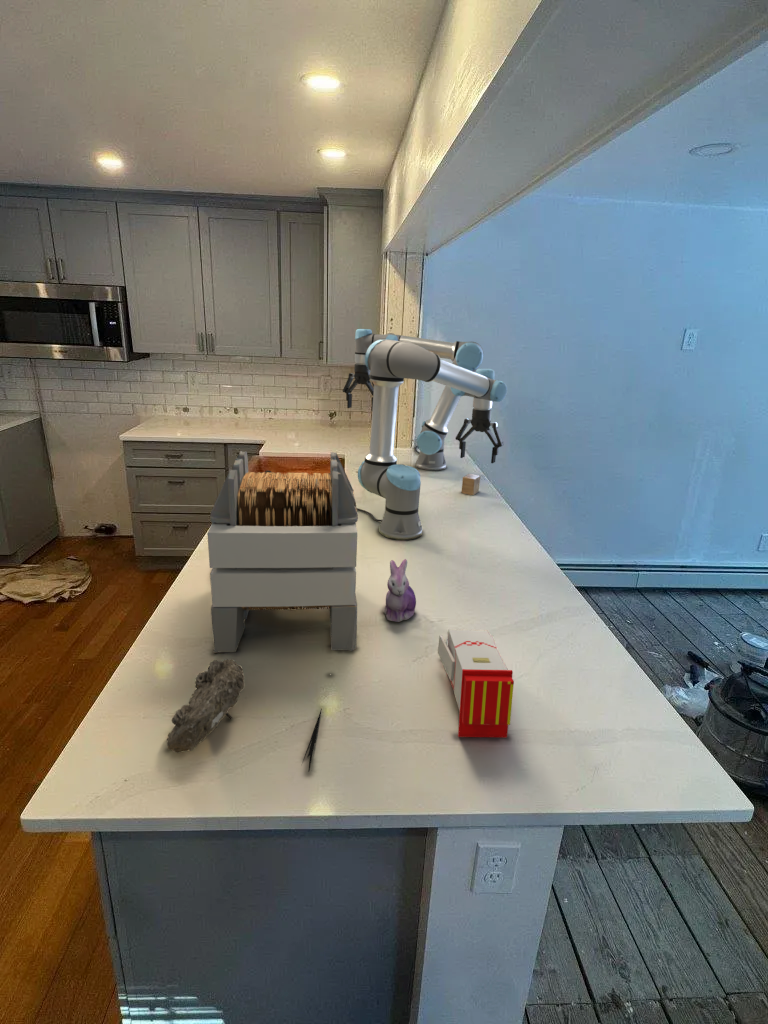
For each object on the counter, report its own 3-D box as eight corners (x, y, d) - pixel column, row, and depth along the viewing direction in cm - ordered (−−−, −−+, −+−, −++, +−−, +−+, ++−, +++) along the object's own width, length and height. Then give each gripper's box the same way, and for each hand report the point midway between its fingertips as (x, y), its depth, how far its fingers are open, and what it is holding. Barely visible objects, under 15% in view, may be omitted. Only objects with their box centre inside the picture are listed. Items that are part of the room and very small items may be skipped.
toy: (488, 613, 130) (523, 677, 101) (484, 667, 133) (517, 744, 104) (435, 612, 130) (455, 676, 101) (432, 666, 133) (451, 743, 103)
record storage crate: (232, 584, 158) (225, 442, 144) (349, 583, 162) (353, 444, 148) (211, 655, 127) (198, 480, 113) (357, 651, 130) (362, 482, 117)
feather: (331, 679, 122) (336, 673, 122) (307, 777, 96) (313, 769, 95) (324, 675, 122) (329, 669, 121) (298, 772, 95) (304, 764, 95)
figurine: (392, 627, 141) (395, 572, 136) (374, 608, 149) (376, 556, 144) (425, 619, 145) (429, 566, 140) (405, 601, 154) (408, 550, 149)
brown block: (472, 495, 245) (474, 479, 243) (461, 493, 248) (462, 477, 245) (478, 491, 251) (480, 475, 248) (467, 489, 253) (468, 473, 251)
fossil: (192, 660, 117) (244, 628, 112) (224, 691, 120) (276, 661, 115) (142, 746, 98) (202, 712, 93) (182, 779, 101) (242, 748, 96)
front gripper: (515, 410, 224) (509, 462, 231) (457, 403, 236) (454, 453, 243) (508, 413, 218) (503, 466, 225) (449, 406, 230) (446, 456, 237)
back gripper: (389, 365, 261) (387, 411, 268) (344, 361, 272) (344, 405, 279) (381, 366, 255) (379, 413, 262) (335, 361, 266) (335, 407, 273)
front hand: (477, 459), depth 234 cm, fingers open, 13 cm apart
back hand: (361, 409), depth 271 cm, fingers open, 13 cm apart
